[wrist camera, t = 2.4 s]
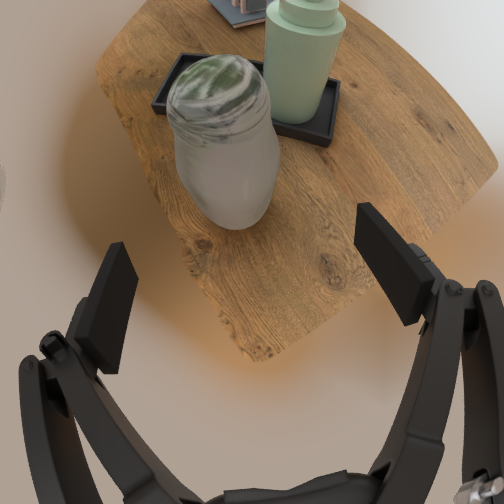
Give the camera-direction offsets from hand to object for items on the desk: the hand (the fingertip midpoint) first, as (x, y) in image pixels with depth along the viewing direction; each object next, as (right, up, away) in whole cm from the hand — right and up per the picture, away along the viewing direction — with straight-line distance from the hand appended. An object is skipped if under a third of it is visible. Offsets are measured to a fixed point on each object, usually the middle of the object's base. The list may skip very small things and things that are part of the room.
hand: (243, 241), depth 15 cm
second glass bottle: (+7, +26, +30) cm, 40 cm away
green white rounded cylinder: (-2, +6, +28) cm, 29 cm away
